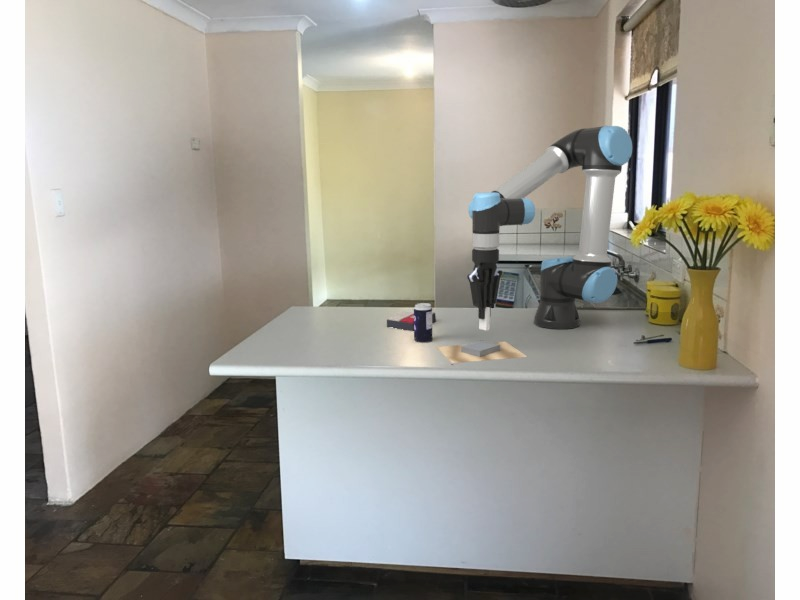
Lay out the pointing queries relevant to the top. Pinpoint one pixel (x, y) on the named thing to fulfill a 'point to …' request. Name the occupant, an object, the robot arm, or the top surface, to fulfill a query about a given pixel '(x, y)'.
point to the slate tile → (480, 348)
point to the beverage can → (423, 322)
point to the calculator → (405, 320)
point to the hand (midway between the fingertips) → (484, 329)
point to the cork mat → (505, 352)
